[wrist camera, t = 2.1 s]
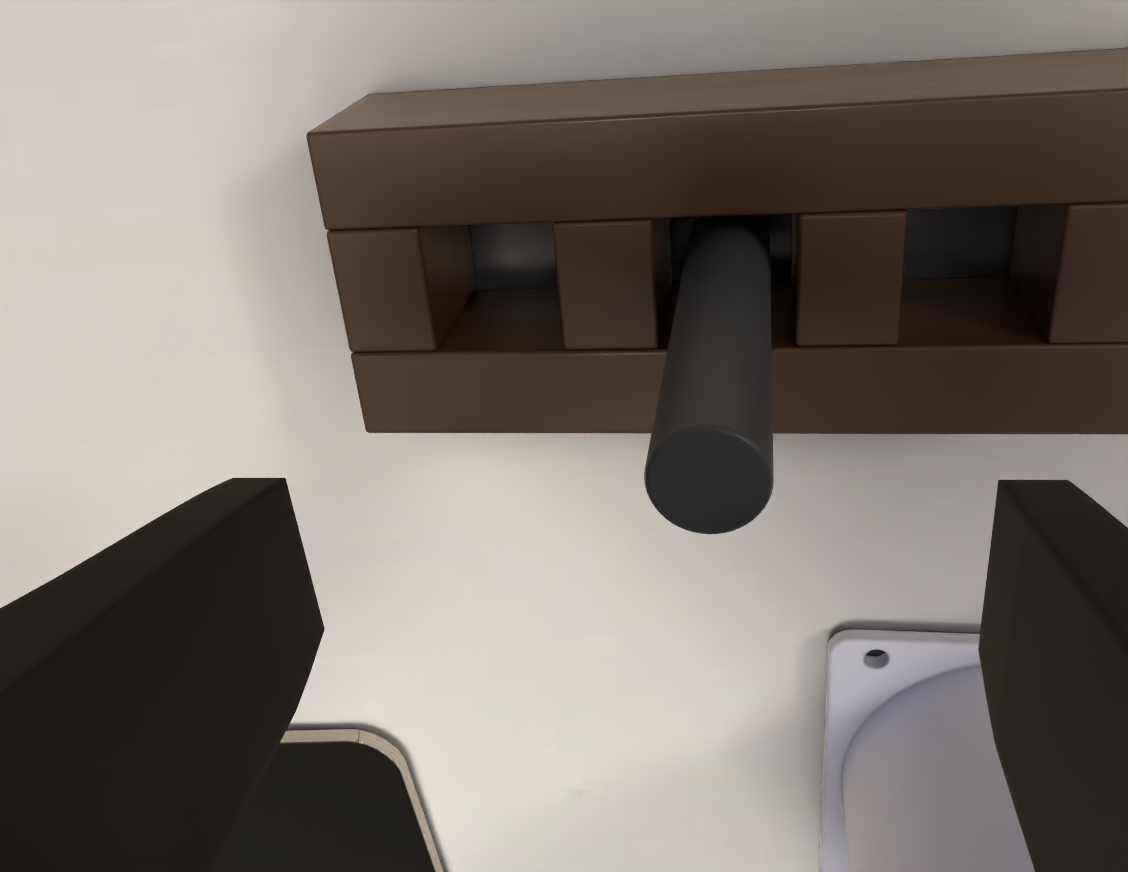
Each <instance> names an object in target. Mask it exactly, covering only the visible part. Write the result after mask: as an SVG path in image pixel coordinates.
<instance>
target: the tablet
mask: <svg viewBox="0 0 1128 872" xmlns="http://www.w3.org/2000/svg"><path fill="white" fill-rule="evenodd" d="M212 872H444V871H443V868H442V865H441V862H440V860H439V857H438V854H437V851H436V848H435V845H434V842H433V839H432V836H431V833H430V830H429V827H428V825H427V822H426V819H425V816H424V813H423V810H422V807H421V804H420V801H419V798H418V795H417V792H416V790H415V787H414V784H413V781H412V778H411V775H410V772H409V769H408V766H407V763H406V761H405V759H404V757H403V755H402V754H401V753H400V751H399V750H398V749H397V748H396V747H395V746H394V745H393V744H391V743H390V742H389V741H387V740H386V739H384V738H382V737H380V736H378V735H376V734H373V733H371V732H367V731H363V730H357V729H337V730H300V731H286V732H285V734H284V736H283V738H282V740H281V742H280V744H279V746H278V747H277V749H276V751H275V753H274V755H273V757H272V759H271V761H270V763H269V765H268V767H267V769H266V771H265V773H264V775H263V777H262V779H261V780H260V782H259V784H258V786H257V788H256V790H255V792H254V794H253V796H252V797H251V799H250V801H249V803H248V805H247V807H246V809H245V811H244V813H243V815H242V816H241V818H240V820H239V822H238V824H237V826H236V828H235V830H234V832H233V834H232V835H231V837H230V839H229V841H228V843H227V845H226V847H225V849H224V851H223V853H222V854H221V856H220V858H219V860H218V862H217V864H216V866H215V868H214V870H213V871H212Z"/></svg>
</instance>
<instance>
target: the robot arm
mask: <svg viewBox="0 0 1128 872" xmlns="http://www.w3.org/2000/svg"><path fill="white" fill-rule="evenodd" d="M323 632H324V625H323V621H322V618H321V614H320V610H319V606H318V602H317V598H316V594H315V591H314V587H313V583H312V579H311V575H310V571H309V567H308V564H307V560H306V556H305V552H304V548H303V544H302V540H301V537H300V533H299V529H298V525H297V521H296V517H295V513H294V510H293V506H292V502H291V498H290V494H289V490H288V486H287V483H286V479H285V478H232V479H230V480H227V481H225V482H223V483H221V484H219V485H216V486H214V487H212V488H210V489H208V490H206V491H204V492H202V493H201V494H199V495H197V496H195V497H193V498H191V499H190V500H188V501H186V502H184V503H183V504H181V505H179V506H177V507H175V508H174V509H172V510H170V511H169V512H167V513H165V514H163V515H162V516H160V517H158V518H157V519H155V520H153V521H151V522H150V523H148V524H146V525H145V526H143V527H141V528H140V529H138V530H136V531H135V532H133V533H131V534H130V535H128V536H126V537H124V538H123V539H121V540H119V541H118V542H116V543H114V544H113V545H111V546H109V547H108V548H106V549H104V550H102V551H101V552H99V553H97V554H96V555H94V556H92V557H91V558H89V559H87V560H86V561H84V562H82V563H81V564H79V565H77V566H75V567H74V568H72V569H70V570H69V571H67V572H65V573H64V574H62V575H60V576H58V577H57V578H55V579H53V580H51V581H49V582H47V583H46V584H44V585H42V586H40V587H38V588H37V589H35V590H33V591H31V592H29V593H28V594H26V595H24V596H22V597H20V598H18V599H17V600H15V601H13V602H11V603H9V604H8V605H6V606H4V607H2V608H0V872H212V871H213V870H214V868H215V866H216V864H217V862H218V860H219V858H220V856H221V854H222V853H223V851H224V849H225V847H226V845H227V843H228V841H229V839H230V837H231V835H232V834H233V832H234V830H235V828H236V826H237V824H238V822H239V820H240V818H241V816H242V815H243V813H244V811H245V809H246V807H247V805H248V803H249V801H250V799H251V797H252V796H253V794H254V792H255V790H256V788H257V786H258V784H259V782H260V780H261V779H262V777H263V775H264V773H265V771H266V769H267V767H268V765H269V763H270V761H271V759H272V757H273V755H274V753H275V751H276V749H277V747H278V746H279V744H280V742H281V740H282V738H283V736H284V734H285V732H286V730H287V728H288V726H289V724H290V722H291V720H292V718H293V716H294V714H295V712H296V709H297V707H298V704H299V701H300V699H301V696H302V693H303V691H304V688H305V685H306V683H307V680H308V677H309V675H310V672H311V669H312V666H313V663H314V660H315V657H316V653H317V650H318V647H319V644H320V641H321V638H322V635H323ZM876 649H878V650H882V651H884V652H885V653H884V654H882V655H880V656H870V655H867V654H866V653H867V652H869V651H870V650H876ZM819 872H1128V528H1127V527H1126V526H1125V525H1123V524H1122V523H1121V522H1120V521H1119V520H1117V519H1116V518H1115V517H1114V516H1113V515H1111V514H1110V513H1109V512H1108V511H1106V510H1105V509H1104V508H1103V507H1102V506H1100V505H1099V504H1098V503H1097V502H1096V501H1094V500H1093V499H1092V498H1091V497H1089V496H1088V495H1087V494H1086V493H1084V492H1083V491H1082V490H1081V489H1079V488H1078V487H1077V486H1075V485H1074V484H1073V483H1071V482H1070V481H1069V480H999V481H998V489H997V497H996V505H995V514H994V522H993V530H992V539H991V547H990V555H989V564H988V572H987V580H986V588H985V597H984V605H983V613H982V622H981V630H980V634H967V633H939V632H910V631H882V630H854V629H852V630H843V631H841V632H839V633H837V634H835V635H834V636H833V637H832V638H831V639H830V641H829V644H828V651H827V675H826V700H825V725H824V750H823V774H822V799H821V824H820V848H819Z"/></svg>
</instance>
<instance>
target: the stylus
mask: <svg viewBox="0 0 1128 872" xmlns="http://www.w3.org/2000/svg"><path fill="white" fill-rule="evenodd" d="M644 480H645V487H646V490H647V493H648V496H649V498H650V500H651V501H652V503H653V505H654V506H655V508H656V509H657V510H658V511H659V512H660V514H662V515H663V516H664V517H665V518H666V519H667V520H669V521H670V522H671V523H673V524H675V525H676V526H678V527H681V528H683V529H685V530H688V531H692V532H696V533H702V534H719V533H726V532H730V531H733V530H736V529H738V528H741V527H742V526H744V525H746V524H748V523H749V522H751V521H752V520H753V519H754V518H755V517H756V516H758V515H759V514H760V513H761V511H762V510H763V509H764V508H765V506H766V504H767V503H768V501H769V499H770V496H771V493H772V489H773V414H772V348H771V282H770V235H769V230H768V227H767V225H766V223H765V221H764V220H763V218H762V217H761V216H760V215H736V216H708V217H698V218H697V219H696V221H695V222H694V224H693V226H692V228H691V231H690V235H689V241H688V246H687V251H686V256H685V262H684V267H683V272H682V277H681V283H680V288H679V293H678V298H677V304H676V309H675V314H674V319H673V324H672V330H671V335H670V340H669V345H668V351H667V356H666V361H665V366H664V372H663V377H662V382H661V387H660V393H659V398H658V403H657V408H656V414H655V419H654V424H653V429H652V435H651V440H650V445H649V450H648V456H647V461H646V466H645V472H644Z"/></svg>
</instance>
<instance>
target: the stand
mask: <svg viewBox="0 0 1128 872" xmlns="http://www.w3.org/2000/svg"><path fill="white" fill-rule="evenodd" d="M307 142H308V147H309V152H310V156H311V161H312V166H313V171H314V176H315V181H316V186H317V191H318V196H319V201H320V206H321V211H322V216H323V221H324V226H325V229H327V230H328V231H327V239H328V244H329V249H330V254H331V259H332V264H333V269H334V274H335V279H336V284H337V289H338V294H339V299H340V304H341V309H342V314H343V319H344V323H345V328H346V333H347V338H348V343H349V348H350V350H351V351H352V354H351V359H352V364H353V369H354V374H355V379H356V384H357V389H358V394H359V399H360V404H361V409H362V414H363V419H364V424H365V429H366V431H367V432H369V433H652V429H653V424H654V419H655V414H656V408H657V403H658V398H659V393H660V387H661V382H662V377H663V372H664V366H665V361H666V356H667V351H668V345H669V340H670V335H671V330H672V324H673V319H674V314H675V309H676V304H677V298H678V293H679V288H680V286H671V284H672V272H671V248H670V223H669V218H680V217H708V216H736V215H764V214H792V213H793V216H792V278H791V279H792V283H777V284H771V348H772V414H773V433H782V434H1128V48H1127V49H1110V50H1094V51H1077V52H1061V53H1044V54H1028V55H1011V56H995V57H978V58H962V59H945V60H929V61H912V62H896V63H879V64H863V65H846V66H830V67H813V68H797V69H780V70H764V71H747V72H731V73H714V74H698V75H681V76H665V77H648V78H632V79H615V80H599V81H582V82H566V83H550V84H533V85H517V86H500V87H484V88H467V89H451V90H434V91H418V92H401V93H385V94H368V95H367V96H365V97H363V98H362V99H360V100H359V101H357V102H355V103H354V104H352V105H351V106H349V107H347V108H346V109H344V110H343V111H341V112H340V113H338V114H336V115H335V116H333V117H332V118H330V119H328V120H327V121H325V122H324V123H322V124H320V125H319V126H317V127H316V128H314V129H313V130H311V131H309V132H308V133H307ZM1015 205H1018V213H1017V221H1016V230H1015V238H1014V246H1013V255H1012V263H1011V271H1010V275H1011V277H1012V278H987V279H945V280H903V274H904V260H905V245H906V231H907V216H908V214H907V212H906V209H931V208H959V207H987V206H1015ZM540 222H553V225H552V231H553V241H554V252H555V262H556V273H557V283H558V289H525V290H483V291H475V289H476V281H475V273H474V266H473V259H472V251H471V244H470V236H469V229H468V225H484V224H512V223H540Z"/></svg>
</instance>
